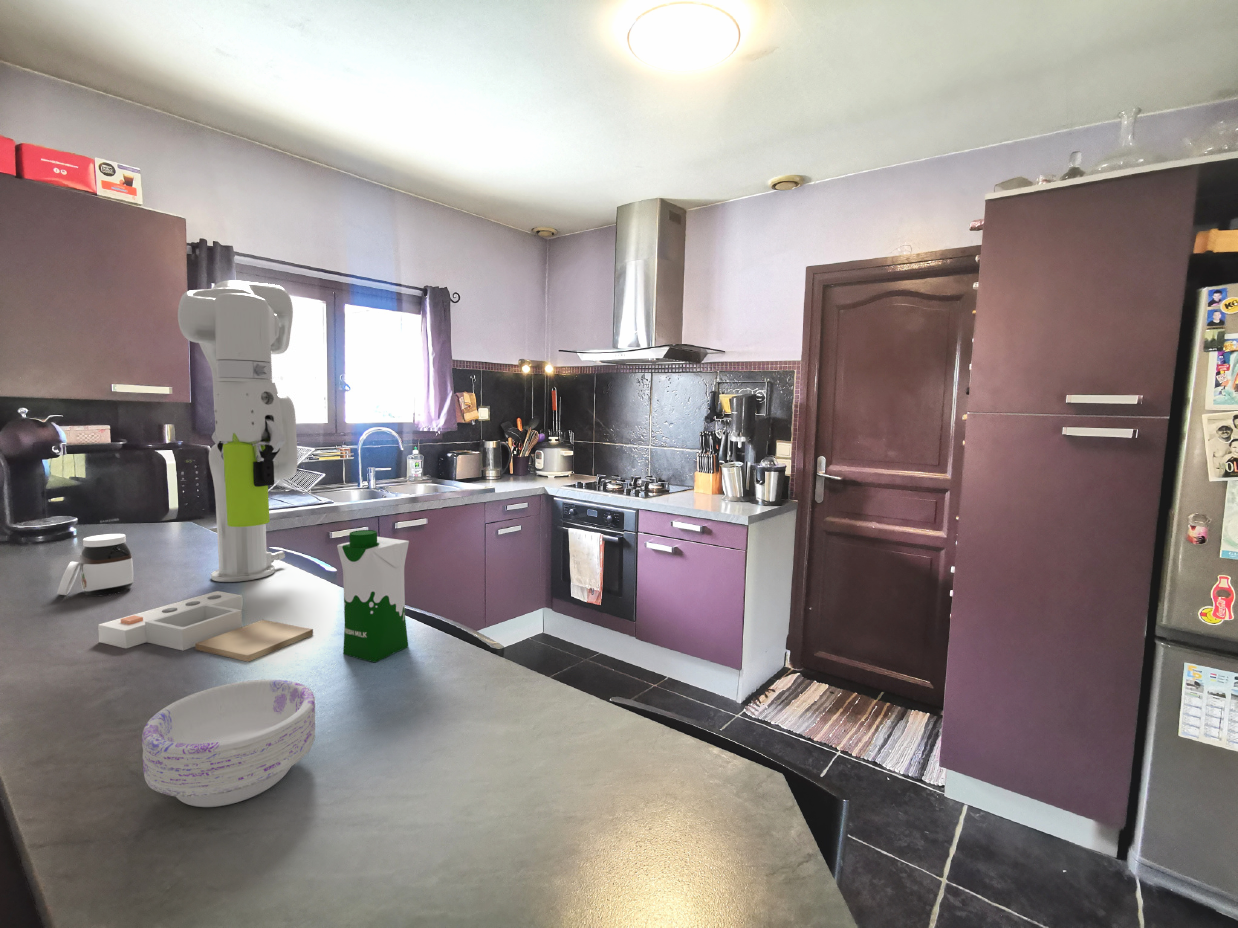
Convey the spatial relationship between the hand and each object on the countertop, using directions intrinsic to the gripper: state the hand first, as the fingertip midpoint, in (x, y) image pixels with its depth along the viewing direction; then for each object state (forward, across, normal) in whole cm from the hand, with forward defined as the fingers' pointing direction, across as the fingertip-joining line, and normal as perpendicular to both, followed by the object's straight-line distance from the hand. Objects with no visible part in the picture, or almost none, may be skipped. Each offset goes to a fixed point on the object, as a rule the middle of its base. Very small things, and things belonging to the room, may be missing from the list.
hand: (249, 483), depth 97 cm
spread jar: (+27, +55, -6) cm, 62 cm away
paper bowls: (+27, -32, +27) cm, 50 cm away
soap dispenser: (+7, 0, 0) cm, 7 cm away
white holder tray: (+27, +16, 0) cm, 31 cm away
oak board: (+27, 0, 0) cm, 27 cm away
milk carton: (+27, -21, -5) cm, 35 cm away
